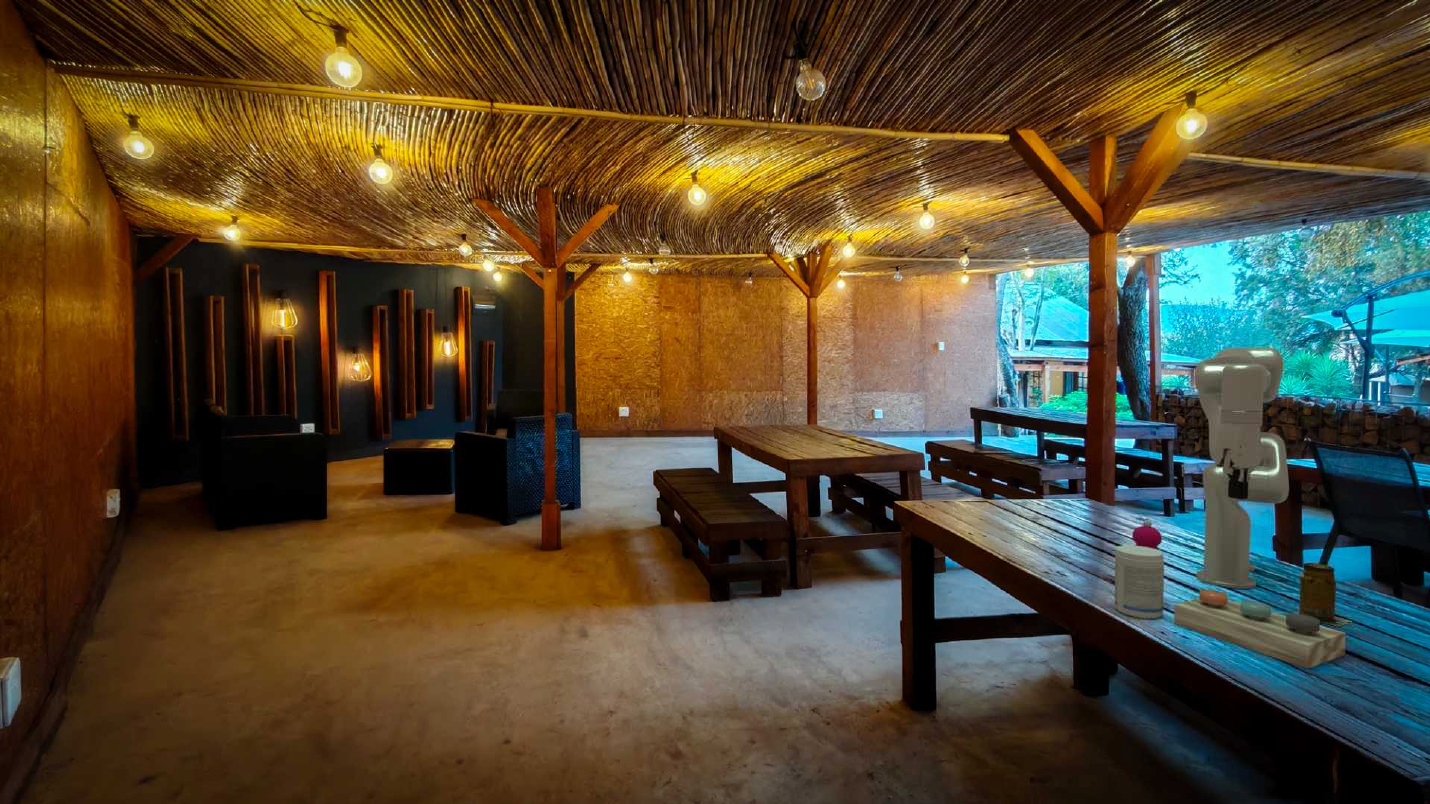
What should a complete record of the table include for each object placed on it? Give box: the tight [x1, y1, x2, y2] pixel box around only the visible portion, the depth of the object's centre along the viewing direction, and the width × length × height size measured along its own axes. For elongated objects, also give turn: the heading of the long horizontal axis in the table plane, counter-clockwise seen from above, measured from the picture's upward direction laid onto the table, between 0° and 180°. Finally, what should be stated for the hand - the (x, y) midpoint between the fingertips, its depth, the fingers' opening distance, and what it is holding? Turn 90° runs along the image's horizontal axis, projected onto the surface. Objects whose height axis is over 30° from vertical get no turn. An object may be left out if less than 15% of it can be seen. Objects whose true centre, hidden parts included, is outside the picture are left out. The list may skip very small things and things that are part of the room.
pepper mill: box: [1131, 519, 1163, 551], centre depth 160 cm, size 7×7×20 cm
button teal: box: [1240, 600, 1272, 621], centre depth 138 cm, size 5×5×5 cm
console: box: [1173, 597, 1347, 670], centre depth 138 cm, size 14×24×4 cm, turn 25°
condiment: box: [1294, 562, 1353, 627], centre depth 149 cm, size 7×8×12 cm
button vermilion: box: [1198, 588, 1229, 609], centre depth 145 cm, size 5×5×5 cm
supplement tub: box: [1114, 545, 1165, 619], centre depth 153 cm, size 10×10×15 cm
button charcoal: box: [1285, 612, 1321, 636], centre depth 131 cm, size 5×5×5 cm
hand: (1237, 498), depth 151 cm, fingers closed
